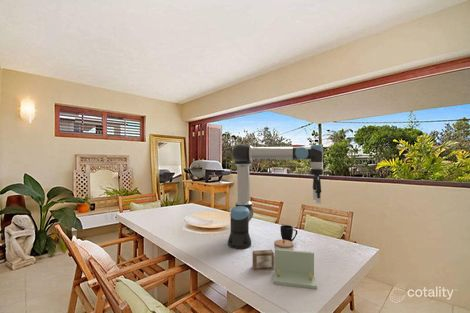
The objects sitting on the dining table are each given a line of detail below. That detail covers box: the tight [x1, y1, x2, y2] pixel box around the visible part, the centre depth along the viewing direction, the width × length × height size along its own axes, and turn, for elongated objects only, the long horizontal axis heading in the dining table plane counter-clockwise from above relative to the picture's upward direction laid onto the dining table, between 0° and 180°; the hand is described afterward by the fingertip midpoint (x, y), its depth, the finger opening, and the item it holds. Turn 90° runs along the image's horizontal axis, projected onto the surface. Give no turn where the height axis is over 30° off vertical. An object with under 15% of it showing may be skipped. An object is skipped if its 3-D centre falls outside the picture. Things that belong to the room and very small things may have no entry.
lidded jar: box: [273, 239, 294, 251], centre depth 128 cm, size 11×11×9 cm
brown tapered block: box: [252, 249, 275, 271], centre depth 115 cm, size 10×4×8 cm, turn 97°
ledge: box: [273, 248, 318, 290], centre depth 103 cm, size 18×11×11 cm, turn 77°
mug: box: [279, 224, 298, 242], centre depth 152 cm, size 8×12×10 cm
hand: (316, 201), depth 148 cm, fingers open, 13 cm apart
